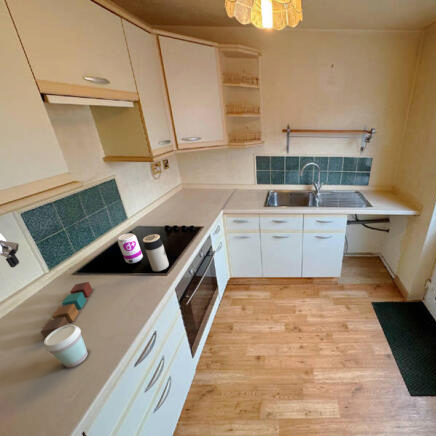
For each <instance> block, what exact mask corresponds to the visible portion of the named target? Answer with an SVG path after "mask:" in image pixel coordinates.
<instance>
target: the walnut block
mask: <svg viewBox="0 0 436 436" xmlns="http://www.w3.org/2000/svg"><path fill="white" fill-rule="evenodd" d="M65 325H71V323H68V321H67V319H66V318H65V317H62V318H58V319H53V318H52V319H50V320H47V322H46V323H45V324H44V326H43V327H42V329H41V330H40V333H41V335H42V336H43V337H44V340H45V339H46V337H47V336H48V335H49V334H50V333H52V332H53V331H54V330H56V329H58V328H60V327H62V326H65Z"/></svg>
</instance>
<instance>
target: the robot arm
mask: <svg viewBox="0 0 436 436" xmlns="http://www.w3.org/2000/svg"><path fill="white" fill-rule="evenodd" d="M19 245H20V244H19V243H18V242H11V241H8V240H7V239H6V237H4V235H3V234H2V232H0V256H2V257H4V258H5V261H6V262H7V264H8V266H9V267H10V268H15V267H17V266H18V265H19V264H20V260H19V259H18V257H17V255H16V254H17V252H18V251H19Z"/></svg>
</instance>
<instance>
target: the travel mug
mask: <svg viewBox="0 0 436 436" xmlns="http://www.w3.org/2000/svg"><path fill="white" fill-rule="evenodd" d="M160 237H161V235H160V234H157V233H156V234H155V233H154V234H149V235H147V236H145V237H144V238H142V242H144V243H143V247H144V250H145V253H146V256H147V258H148V261H149V264H150V268H151V269H152V271H153V272H161V271H163V270H166V269H167V268H168V267H169V266H170V265H169V264H170V263H169V260H168V257H167V253H166V250H165V247H164V243H163V240H162V239H160Z"/></svg>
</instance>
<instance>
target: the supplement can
mask: <svg viewBox="0 0 436 436" xmlns="http://www.w3.org/2000/svg"><path fill="white" fill-rule="evenodd" d="M117 243H118V246H119V248H120V251H121V254H122V255H123V259H124V261H125V262H126V263H128V264H135V263H138V262H140V261H141V260H143V257H144V255H143V253H142V249H141V247H140V244H139V241H138V238H137V236H136V235H135V234H134V233H132V232H131V233H129V232H128V233H124V234H121V235H120V236H118V238H117Z"/></svg>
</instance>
